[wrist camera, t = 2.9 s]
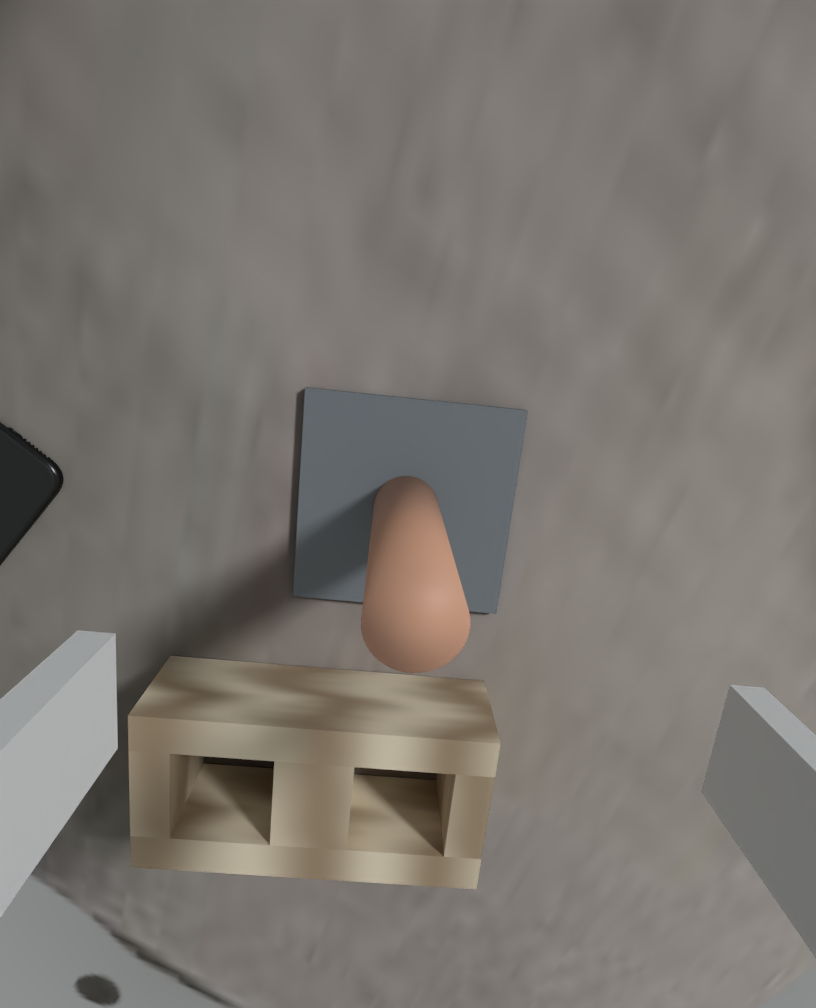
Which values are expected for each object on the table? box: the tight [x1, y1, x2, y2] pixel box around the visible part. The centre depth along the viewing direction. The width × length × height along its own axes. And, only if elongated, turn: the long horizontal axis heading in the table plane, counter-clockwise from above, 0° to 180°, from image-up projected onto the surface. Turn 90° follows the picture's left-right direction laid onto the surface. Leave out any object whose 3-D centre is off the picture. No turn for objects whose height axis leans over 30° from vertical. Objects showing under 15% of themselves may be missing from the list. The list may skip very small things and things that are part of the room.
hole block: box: [128, 656, 501, 889], centre depth 29 cm, size 16×8×5 cm, turn 84°
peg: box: [361, 476, 470, 673], centre depth 22 cm, size 3×3×12 cm
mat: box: [293, 387, 528, 614], centre depth 28 cm, size 10×10×1 cm
